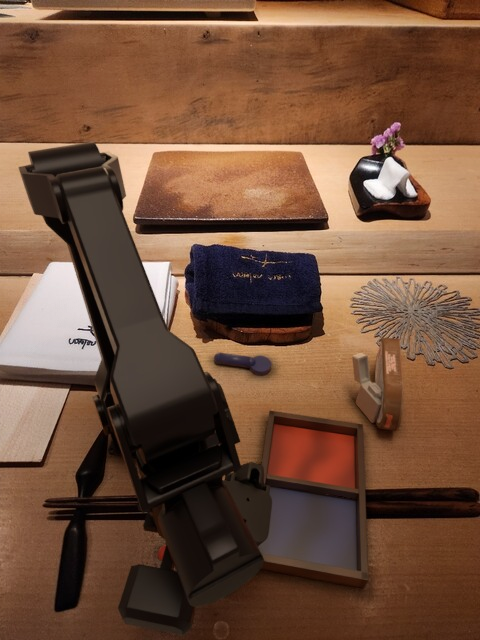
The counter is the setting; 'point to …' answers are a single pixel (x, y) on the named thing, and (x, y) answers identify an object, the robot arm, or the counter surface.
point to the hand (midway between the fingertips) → (186, 550)
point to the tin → (390, 383)
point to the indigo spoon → (245, 362)
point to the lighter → (366, 388)
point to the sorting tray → (316, 499)
